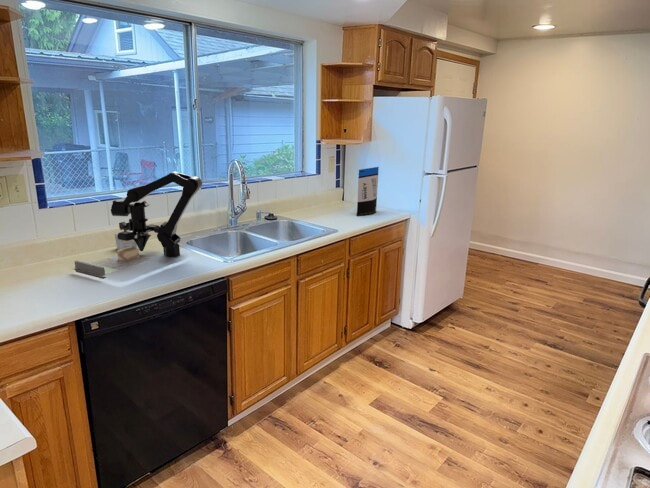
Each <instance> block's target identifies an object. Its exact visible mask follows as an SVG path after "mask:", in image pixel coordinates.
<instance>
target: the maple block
mask: <svg viewBox="0 0 650 488" xmlns="http://www.w3.org/2000/svg"><path fill="white" fill-rule="evenodd" d="M139 251H140V250H139V248H137V247H133V248H131V247H127V248H124V249H120V250H119V249H117V250H116V256H117V255H118V260H123V261H127V262H129V261H132V260H135V259H138V258H139V256H140V252H139Z"/></svg>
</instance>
